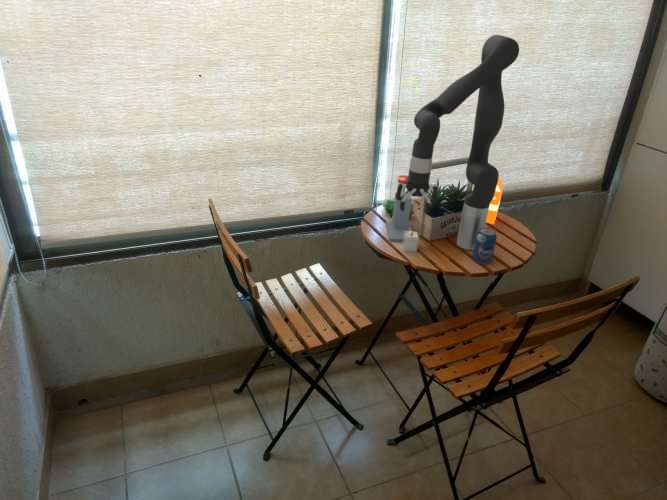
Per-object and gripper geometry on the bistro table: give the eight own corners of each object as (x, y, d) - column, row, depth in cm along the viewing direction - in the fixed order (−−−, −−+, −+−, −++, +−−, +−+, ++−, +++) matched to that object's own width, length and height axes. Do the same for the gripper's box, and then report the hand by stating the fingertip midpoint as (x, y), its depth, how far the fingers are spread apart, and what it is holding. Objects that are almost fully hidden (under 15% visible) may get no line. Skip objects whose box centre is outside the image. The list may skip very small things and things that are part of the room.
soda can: (477, 265, 183) (484, 236, 177) (468, 256, 189) (474, 227, 183) (494, 264, 185) (501, 234, 179) (485, 255, 191) (491, 226, 185)
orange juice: (475, 220, 218) (484, 176, 209) (478, 213, 225) (487, 170, 216) (494, 224, 216) (504, 179, 206) (496, 216, 223) (506, 173, 213)
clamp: (388, 225, 220) (380, 208, 215) (390, 217, 224) (383, 200, 219) (414, 221, 214) (407, 203, 209) (416, 212, 218) (409, 195, 214)
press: (409, 224, 211) (413, 193, 204) (414, 242, 197) (419, 209, 190) (385, 223, 211) (389, 192, 204) (389, 241, 197) (393, 208, 190)
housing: (414, 245, 195) (417, 228, 191) (416, 251, 190) (418, 234, 187) (401, 245, 194) (403, 228, 191) (403, 251, 190) (405, 234, 187)
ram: (406, 207, 207) (410, 175, 200) (407, 212, 202) (411, 180, 196) (393, 206, 206) (397, 175, 200) (395, 211, 202) (398, 179, 196)
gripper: (438, 166, 181) (431, 208, 189) (398, 164, 180) (393, 206, 188) (442, 173, 174) (435, 216, 182) (401, 171, 174) (395, 214, 181)
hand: (413, 211), depth 185 cm, fingers open, 8 cm apart
